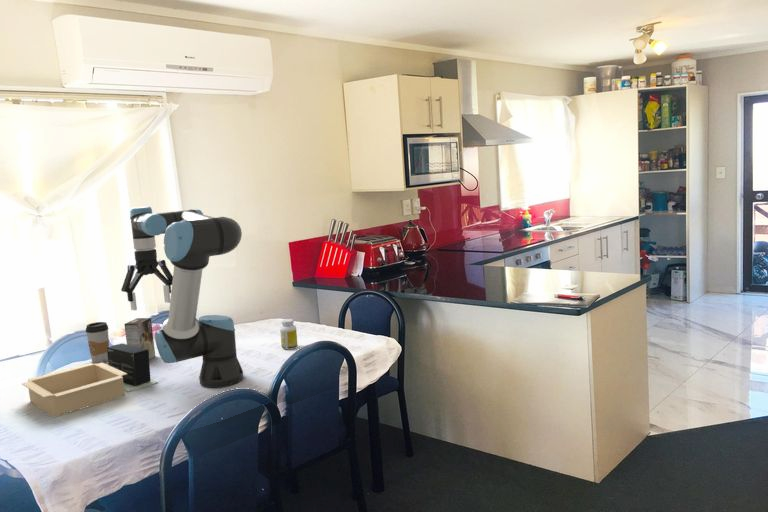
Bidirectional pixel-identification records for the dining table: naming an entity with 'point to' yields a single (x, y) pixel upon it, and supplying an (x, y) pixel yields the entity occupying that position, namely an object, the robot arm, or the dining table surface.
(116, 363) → the box
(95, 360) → the coffee cup
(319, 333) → the dining table surface
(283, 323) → the pill bottle
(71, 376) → the tan open rectangular tray
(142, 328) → the coffee box
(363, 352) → the dining table surface
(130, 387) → the mat
